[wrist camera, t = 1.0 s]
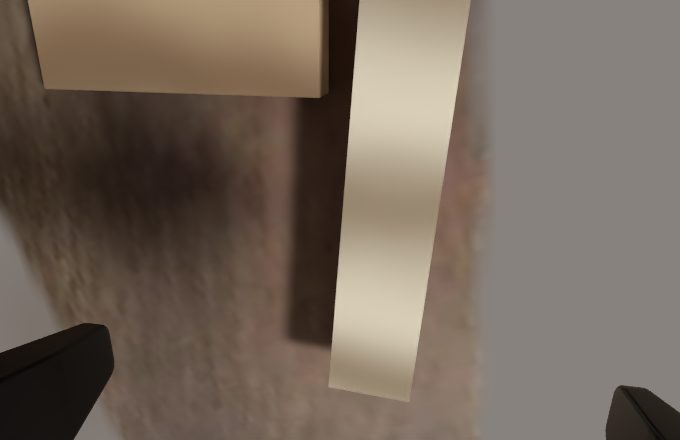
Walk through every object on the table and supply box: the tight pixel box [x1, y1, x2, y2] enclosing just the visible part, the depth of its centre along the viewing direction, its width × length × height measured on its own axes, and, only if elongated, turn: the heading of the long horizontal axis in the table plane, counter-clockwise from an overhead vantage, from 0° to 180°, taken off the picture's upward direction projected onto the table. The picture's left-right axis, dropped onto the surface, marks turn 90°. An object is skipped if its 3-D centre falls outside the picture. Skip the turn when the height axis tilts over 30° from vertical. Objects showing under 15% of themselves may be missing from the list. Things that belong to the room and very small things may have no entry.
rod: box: [329, 0, 471, 402], centre depth 18 cm, size 14×3×3 cm, turn 176°
